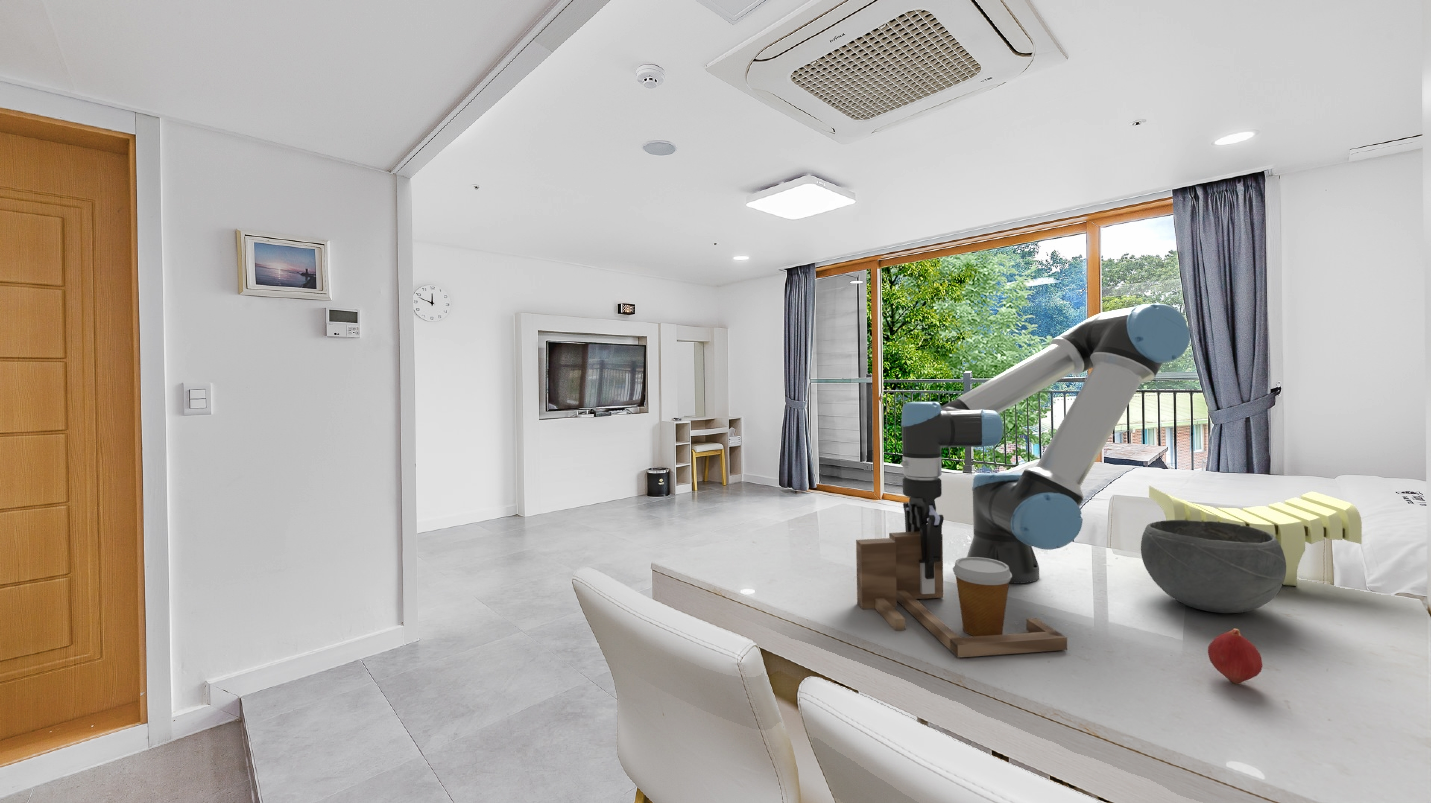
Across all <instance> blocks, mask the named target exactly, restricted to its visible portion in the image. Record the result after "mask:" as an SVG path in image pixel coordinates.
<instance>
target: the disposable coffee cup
mask: <svg viewBox="0 0 1431 803" xmlns="http://www.w3.org/2000/svg"><path fill="white" fill-rule="evenodd" d="M952 571H953V574H954V575H955V579H956V587H957V593H958V594H957V595H958V601H959V607H960V614H961V623H962V629H963V631H964V632H965V633H966V634H968V635H970V636H971V637H976V636H990V635H1003V632H1004V631H1003V630H1004V625H1005V624H1004V623H1005V615H1006V607H1007V601H1008V594H1009V593H1008V592H1009V584H1010V583H1009V581H1010V579H1011V578H1012V574H1011V572H1010V570H1009V567H1008V565H1006V564H1005V563H1003V562H1000V561H997V560H994V559H988V558H980V557H967V556H966V557H961V558H958V559H957V560H956V561H955V563H954V566H953V567H952Z"/></svg>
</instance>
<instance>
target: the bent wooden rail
mask: <svg viewBox="0 0 1431 803" xmlns="http://www.w3.org/2000/svg"><path fill="white" fill-rule="evenodd" d="M888 534H889V536H888V538H890V539H892V540H893V541H895V542H896V592H897V602H898V603H899V604H900V605H901V606H902V607H903V608H905V610H906V611H907V612H908V613H910V615H912V616H913V617H914V618H915V619H916V620H917V621H919V623H920V624H921V625H922V626H924V627H925V628H926V629H927V630H928V631H929V632H930V633H931V634H932V635H933V636H935V637H936V639H937V640H938V641H939V642H941V643H942V644H943V645H944V646H945V647H946V648H947V649H948V650H949V651H951V652H952V653H953V655H955V656H956V657H957V658H968V657H969V658H970V657H982V656H983V657H985V656H996V655H997V656H998V655H1009V654H1010V655H1011V654H1024V653H1025V654H1026V653H1027V654H1028V653H1039V652H1040V653H1041V652H1053V651H1066V650H1068V637H1066V636H1065V635H1064V634H1062V633H1060V632H1059V631H1057V630H1055V629H1054V628H1052V627H1051V626H1049V625H1048V624H1046V623H1044V622H1043V621H1042V620H1040V619H1039V618H1036V617H1034V618H1031V617H1030V618H1026V619H1025V622H1026V624H1025V627H1026V631H1027V632H1024V633H1022V632H1021V633H1008V634H1007V633H1006V634H1002V635H990V636H976V637H975V636H967V637H966V636H964V637H961V636H960V635H958V634H957V633H956V632H955V631H954V630H952V629H951V628H950V627H949V626H948V625H946V623H944V622H943V621H942V620H941V619H940V618H938V617H937V616H936V615H935V614H934V613H933V612H931V611H930V610H929V609H928V608H927V607H926V606H924V604H922V603H921V602H920V601H919V600H920V599H936V598H938V599H939V598H944V561H943V560H944V559H943V558H944V556H943V555H944V553H943V552H944V551H943V550H944V545H943V535H944V534H942V539H941V561H940V562H935V563H934V565H935V593H934V594H921V593H920V562H919V560H922V550H921V538H920V531H918V532H906V531H902V532H889V533H888Z"/></svg>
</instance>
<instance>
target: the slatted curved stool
mask: <svg viewBox="0 0 1431 803" xmlns="http://www.w3.org/2000/svg"><path fill="white" fill-rule="evenodd" d="M1148 497H1149V499H1151V500H1153V501H1154V502H1155V503H1156V504H1157V505H1159V506H1160V507H1161V510H1162V511H1163V514H1164V516H1165V521H1166V520H1189V521H1213V522H1224V523H1232V524H1238V525H1241V526H1243V525H1244V526H1248V527H1253V528H1257V529H1261V530H1263V531H1266V532H1268V533H1271V534H1273V535H1274V536H1275V537H1276V539H1277V540H1278V542H1279V544H1280V545H1281V547H1282V550H1283V553H1284V556H1285V560H1286V576H1285V580H1284V582H1283V585H1282V586H1295V587H1297V586H1298V568H1299V565H1300V563H1301V562H1300V561H1301V560H1302V557H1303V555H1304V553H1305V552H1306V543H1307V544H1310V545H1312V544H1315V543H1318V542H1321V541H1324V539H1328V540H1334V541H1336V540H1337V541H1343V540H1345V541H1347V542H1352V543H1355V544H1359V545H1362V537H1363V536H1362V532H1363V531H1362V528H1363V527H1362V524H1363V522H1362V518H1361V515H1360V512H1359V510H1358V509H1357V506H1355V505H1354V504H1353V503H1352V502H1348V501H1345V500H1342V499H1338V498H1336V497H1333V496H1328V495H1327V494H1322V493H1319V492H1315V491H1309V492H1307V493H1304V494H1302V495H1300V498H1298V497H1296V496H1295V497H1293V498H1288V499H1286V500H1284V503H1282V502H1280V501H1279V502H1275V503H1270V504H1268V507H1267V506H1264V505H1260V506H1252V507H1251V506H1250V507H1243V508H1242V509H1239V508H1238V507H1237V508H1236V507H1235V508H1230V507H1229V508H1228V507H1216V508H1215V507H1213V506H1209V505H1204V504H1200V503H1199V504H1198V503H1194V502H1189V501H1187V500H1184V499H1182V498H1178V497H1175V496H1173V495H1170V494H1168V493H1166V492H1163V491H1160V490H1159V489H1157V488H1155V487H1152V486H1151V485H1149V486H1148Z"/></svg>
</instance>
